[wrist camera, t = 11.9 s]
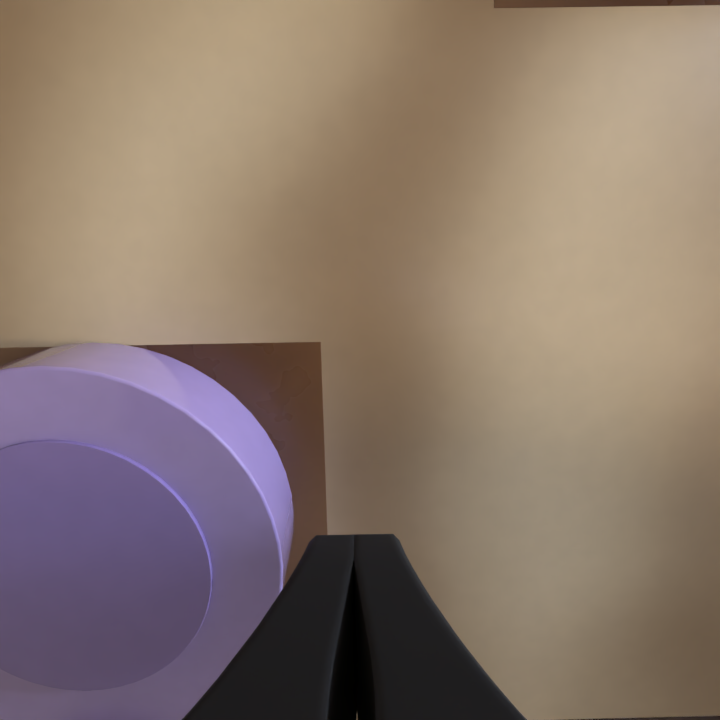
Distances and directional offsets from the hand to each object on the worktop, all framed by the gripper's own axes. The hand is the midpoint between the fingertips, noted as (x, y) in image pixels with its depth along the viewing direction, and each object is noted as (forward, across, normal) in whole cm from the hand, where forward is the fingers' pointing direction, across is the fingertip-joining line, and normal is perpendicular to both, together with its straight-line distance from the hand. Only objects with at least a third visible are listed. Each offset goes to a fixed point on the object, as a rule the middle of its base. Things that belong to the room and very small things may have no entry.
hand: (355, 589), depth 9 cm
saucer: (+2, +5, 0) cm, 5 cm away
